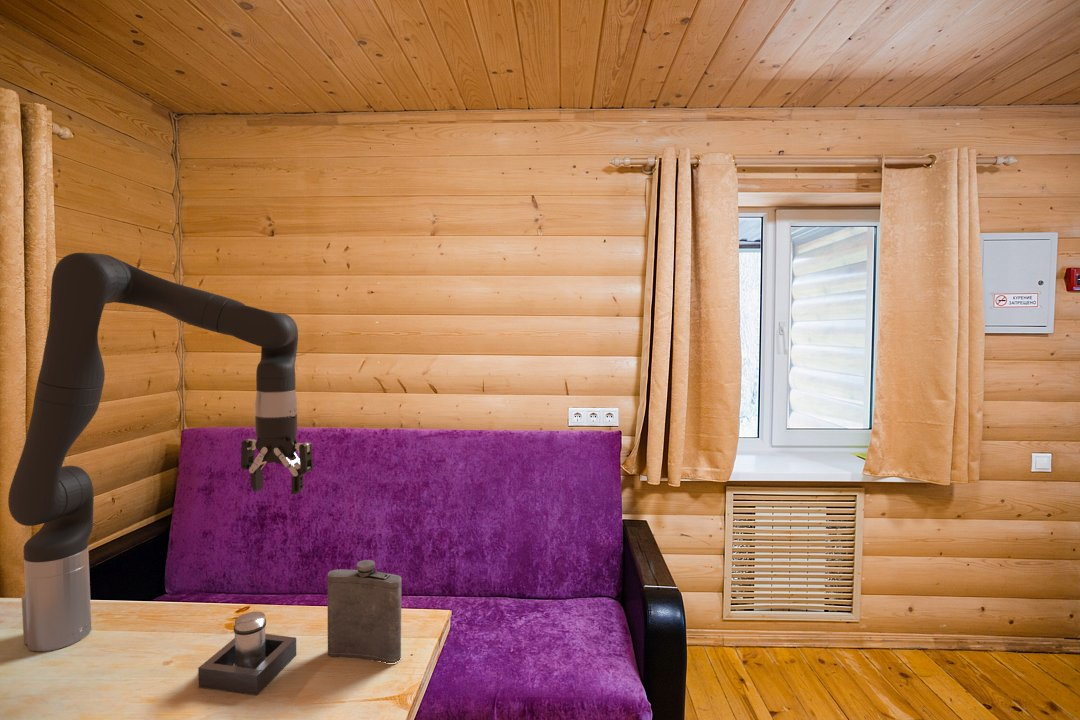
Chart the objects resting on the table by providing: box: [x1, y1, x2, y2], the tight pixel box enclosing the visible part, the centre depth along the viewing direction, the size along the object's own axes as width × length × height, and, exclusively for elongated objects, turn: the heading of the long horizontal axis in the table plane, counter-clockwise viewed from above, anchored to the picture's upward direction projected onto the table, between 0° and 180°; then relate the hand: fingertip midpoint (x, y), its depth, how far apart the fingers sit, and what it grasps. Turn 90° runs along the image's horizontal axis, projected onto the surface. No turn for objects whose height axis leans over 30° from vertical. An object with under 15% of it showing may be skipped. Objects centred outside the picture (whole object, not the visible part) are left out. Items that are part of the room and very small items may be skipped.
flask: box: [326, 559, 402, 663], centre depth 101 cm, size 4×14×18 cm, turn 82°
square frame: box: [197, 633, 297, 696], centre depth 96 cm, size 11×11×4 cm
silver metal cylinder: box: [233, 611, 267, 669], centre depth 96 cm, size 5×5×10 cm
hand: (277, 491), depth 108 cm, fingers open, 8 cm apart
